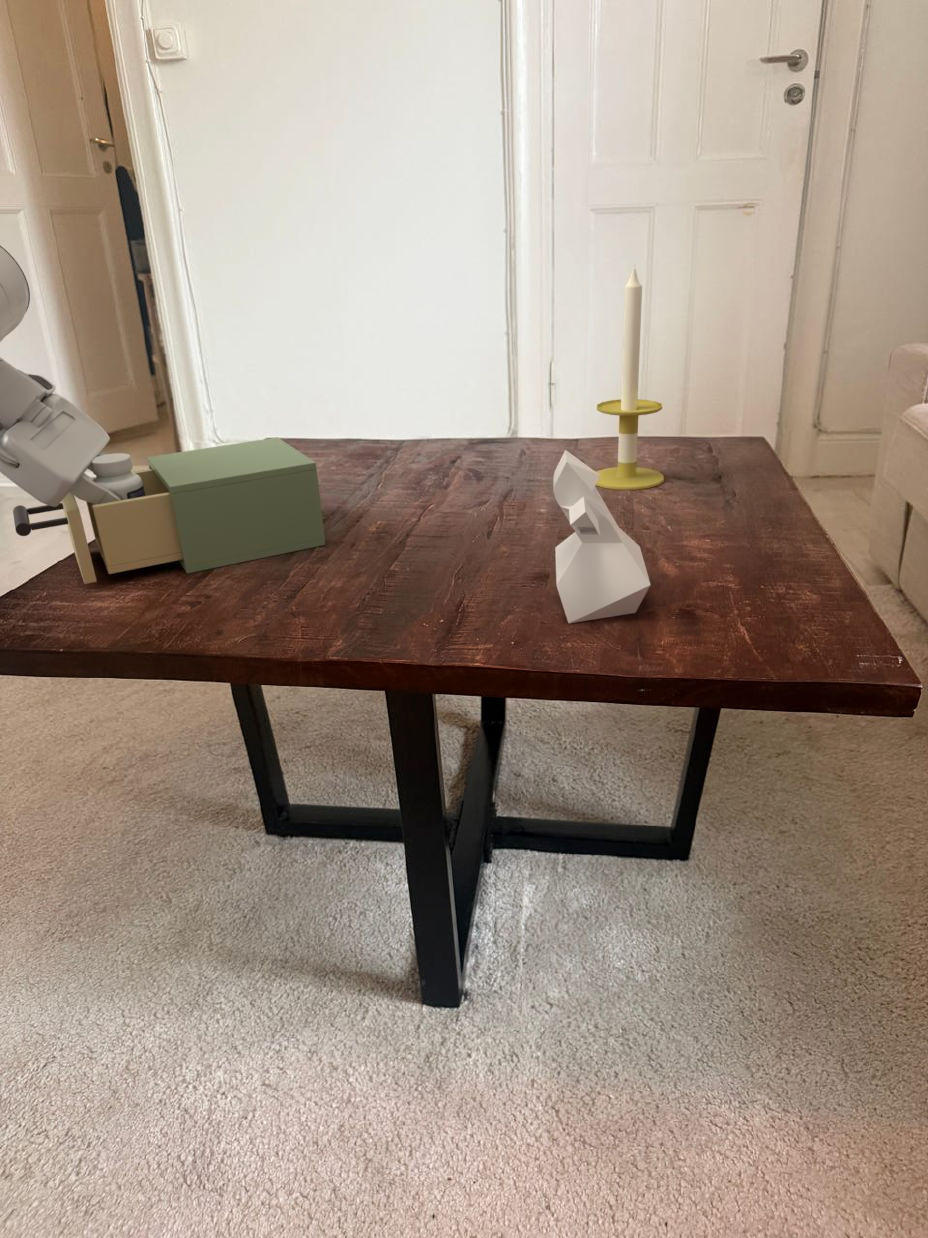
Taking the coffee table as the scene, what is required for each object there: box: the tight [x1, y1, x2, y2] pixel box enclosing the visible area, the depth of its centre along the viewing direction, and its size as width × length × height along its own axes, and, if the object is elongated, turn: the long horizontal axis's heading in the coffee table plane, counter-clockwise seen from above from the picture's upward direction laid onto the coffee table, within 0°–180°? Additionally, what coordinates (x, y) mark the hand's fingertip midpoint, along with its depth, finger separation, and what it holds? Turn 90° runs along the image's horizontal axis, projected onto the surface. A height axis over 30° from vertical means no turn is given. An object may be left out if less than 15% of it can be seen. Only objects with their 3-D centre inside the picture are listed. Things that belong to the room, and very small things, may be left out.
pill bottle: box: [91, 452, 145, 505], centre depth 93 cm, size 5×5×10 cm
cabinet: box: [146, 437, 326, 574], centre depth 99 cm, size 16×15×10 cm
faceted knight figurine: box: [552, 449, 651, 624], centre depth 79 cm, size 8×14×14 cm, turn 175°
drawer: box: [12, 468, 183, 585], centre depth 94 cm, size 19×13×8 cm
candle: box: [595, 263, 665, 491], centre depth 111 cm, size 10×10×27 cm
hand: (124, 497), depth 93 cm, fingers closed on pill bottle, 5 cm apart
